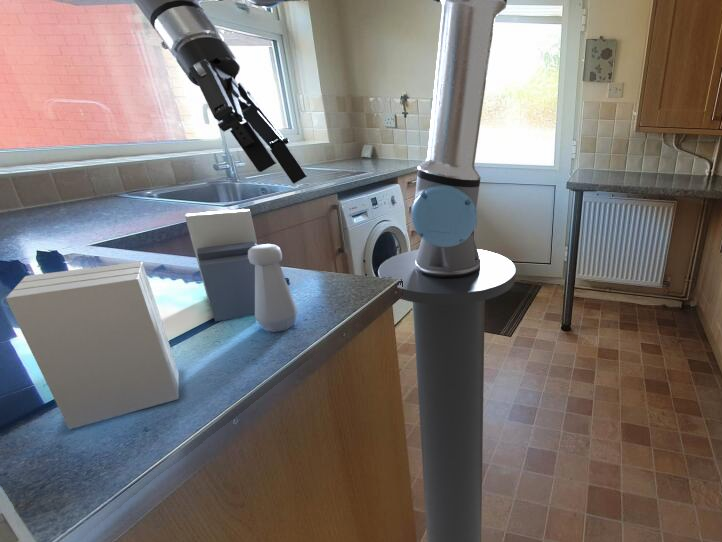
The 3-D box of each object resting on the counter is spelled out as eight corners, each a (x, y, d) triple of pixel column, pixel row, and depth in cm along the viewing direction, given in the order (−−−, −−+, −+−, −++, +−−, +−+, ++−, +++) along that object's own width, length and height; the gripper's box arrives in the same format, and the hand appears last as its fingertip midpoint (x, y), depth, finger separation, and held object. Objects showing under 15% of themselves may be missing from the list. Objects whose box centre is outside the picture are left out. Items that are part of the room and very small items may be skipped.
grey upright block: (265, 294, 75) (253, 238, 71) (272, 310, 69) (260, 250, 65) (212, 303, 70) (196, 245, 66) (215, 322, 64) (197, 259, 60)
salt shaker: (253, 336, 61) (234, 253, 56) (262, 319, 66) (245, 241, 61) (297, 332, 62) (282, 251, 57) (302, 315, 67) (288, 239, 62)
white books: (178, 372, 52) (142, 261, 46) (178, 399, 47) (137, 279, 41) (80, 397, 47) (25, 275, 41) (68, 430, 42) (5, 298, 36)
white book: (265, 287, 77) (248, 208, 72) (267, 290, 76) (250, 210, 70) (207, 297, 72) (184, 213, 67) (208, 301, 71) (184, 216, 65)
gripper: (222, 90, 75) (293, 193, 79) (113, 20, 50) (224, 174, 54) (258, 70, 75) (327, 173, 79) (168, -9, 51) (274, 146, 55)
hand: (285, 174), depth 67 cm, fingers open, 13 cm apart
